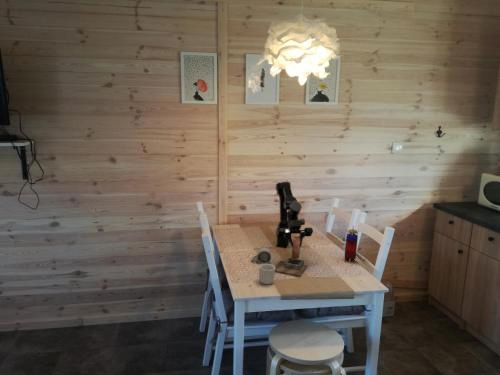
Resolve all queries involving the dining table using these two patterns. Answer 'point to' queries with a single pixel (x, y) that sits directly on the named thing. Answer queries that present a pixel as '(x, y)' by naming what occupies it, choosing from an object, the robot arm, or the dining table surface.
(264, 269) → the cup
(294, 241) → the peg
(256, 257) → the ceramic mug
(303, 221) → the robot arm
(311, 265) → the dining table surface
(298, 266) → the socket board
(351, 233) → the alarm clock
